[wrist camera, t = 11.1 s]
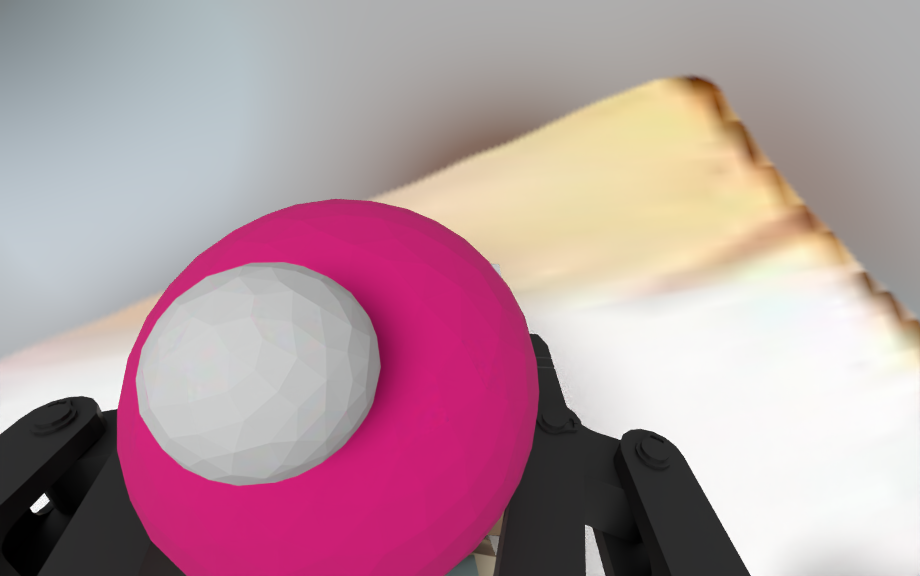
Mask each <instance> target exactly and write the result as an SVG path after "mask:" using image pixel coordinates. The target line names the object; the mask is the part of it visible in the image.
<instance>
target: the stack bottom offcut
mask: <svg viewBox="0 0 920 576" xmlns="http://www.w3.org/2000/svg"><path fill="white" fill-rule="evenodd" d="M471 555H474V556H475V561H476V565H477V570H478V574H479V576H493V573H494V568H495V562H496V555H495V552H494V550H493V547H492V544H491V542H490V540H487V539H483V540H482V541H481V543H480V544H479V545H478V547H477V548H476V549H475V550H474V551H473V552H471V553H470V554H469V555H468V556H471Z"/></svg>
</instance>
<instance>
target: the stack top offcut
mask: <svg viewBox="0 0 920 576" xmlns="http://www.w3.org/2000/svg"><path fill="white" fill-rule="evenodd" d="M445 576H479V574H478V570H477V565H476V561H475V556H474V555H471V556H467V557H466V558H464V559H463V560H462V561H461V562H460V563H459V564H458V565H456V566H455V567H454V568H453V569H452V570H451V571H450V572H448V573H447V574H446V575H445Z"/></svg>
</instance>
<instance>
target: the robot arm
mask: <svg viewBox="0 0 920 576" xmlns="http://www.w3.org/2000/svg"><path fill="white" fill-rule="evenodd" d="M491 265H492V266H493V268H494V269H495V270H496V271H497V273H498V274H499V275H500V276H501V272H500V267H499V264H491ZM501 278H502V277H501ZM529 335H530V338H531V342H532V346H533V349H534V353H535V357H536V361H537V372H538V384H539V400H538V411H537V419H536V425H535V431H534V437H533V443H532V449H531V452H530V455H529V457H528V460H527V463H526V466H525V469H524V472H523V475H522V478H521V481H520V483H519V485H518V487H517V488H516V490H515V492H514V494H513V496H512V497H511V499H510V501H509V503H508V505H507V507H506V508H505V510H504V515H503V520H502V526H501V532H500V538H499V544H498V550H497V556H496V562H495V568H494V573H493V576H586V562H585V525H588V526H590V527H592V528H593V532H594V535H595V539H596V543H597V546H598V550H599V554H600V557H601V561H602V565H603V568H604V572H605V576H751V575H750V574H749V572H748V570H747V568H746V567H745V565H744V563H743V561H742V559H741V558H740V556H739V554H738V552H737V551H736V549H735V547H734V545H733V543H732V542H731V540H730V538H729V536H728V534H727V533H726V531H725V529H724V527H723V526H722V524H721V522H720V520H719V518H718V517H717V515H716V513H715V511H714V510H713V508H712V506H711V504H710V502H709V501H708V499H707V497H706V495H705V494H704V492H703V490H702V488H701V486H700V485H699V483H698V481H697V479H696V478H695V476H694V474H693V472H692V470H691V469H690V467H689V465H688V463H687V462H686V460H685V458H684V456H683V455H682V454H681V452H680V451H679V450H678V449H677V447H676V446H675V445H674V444H672V443H671V442H670V441H669V440H667V439H666V438H665V437H663V436H661V435H658V434H656V433H654V432H652V431H647V430H643V429H636V430H630V431H628V432H626V433H625V434H623V436H622V439H621V440H618V439H615V438H612V437H609V436H606V435H603V434H600V433H597V432H595V431H592V430H590V429H588V428H586V427H585V426H583V425H582V424H581V421H580V419H579V418H578V417H577V415H576V414H575V413H574V412H573V411H572V410H570V409H569V408H567V406H566V403H565V400H564V397H563V394H562V391H561V387H560V384H559V381H558V378H557V374H556V371H555V369H554V365H553V362H552V359H551V355H550V352H549V349H548V346H547V344H546V343H545V342H544V341H543V340H542V339H541V338H540V337H539V335H538V334H529ZM117 410H118V409H116V410H110V411H104V412H101V410H100V408H99V406H98V404H97V403H96V402H95V401H94V399H92V398H88V397H84V396H79V397H68V398H64V399H60V400H57V401H53V402H50V403H48V404H46V405H43V406H41V407H39V408H36V409H34V410H33V411H31V412H30V413H28V414H27V415H25V416H24V417H22V418H20V419H19V420H18V421H17V422H15V423H14V424H13V425H12V426H10V427H9V428H8V429H7V430H5V431H4V432H3V433H1V434H0V576H186V575H185V574H184V573H183V572H182V571H181V570H180V569H179V568H178V567H177V566H176V565H175V564H174V563H173V562H172V561H171V560H170V559H169V558H168V557H167V556H166V555H165V554H164V553H163V552H162V551H161V550H160V549H159V548H158V547H157V546H156V545H155V544H154V543H153V542H152V541H151V540H150V538H149V536H148V534H147V532H146V530H145V528H144V526H143V524H142V522H141V520H140V518H139V516H138V514H137V512H136V511H135V509H134V507H133V505H132V503H131V501H130V498H129V494H128V491H127V487H126V484H125V480H124V476H123V472H122V468H121V464H120V460H119V456H118V452H117ZM44 493H45V495H46V496H47V497H48V499H49V500H50V501H49V502H48V503H47V504H46V506H44V507H43V508H42V509H40V510H39V511H38V512H37V513H33V512H32V511H31V509H30V507H31V506H32V505H33V504H34V503H35V502H36V501H37V500H38V499H39V498H40V497H41V496H42V495H43V494H44Z"/></svg>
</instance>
